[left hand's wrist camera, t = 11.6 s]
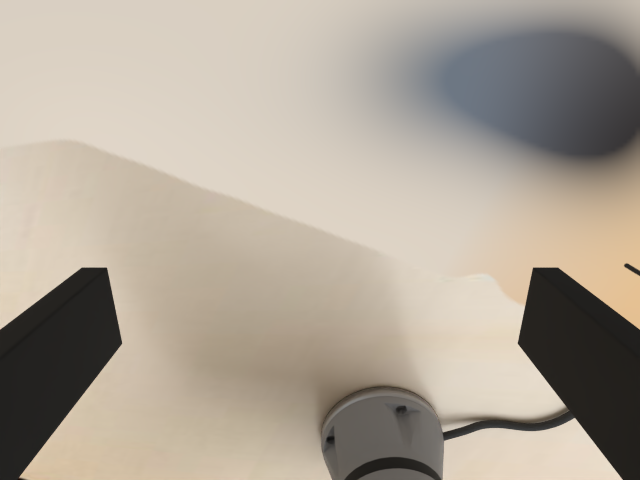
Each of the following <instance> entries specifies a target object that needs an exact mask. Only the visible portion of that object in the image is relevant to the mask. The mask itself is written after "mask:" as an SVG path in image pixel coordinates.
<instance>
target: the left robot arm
mask: <svg viewBox="0 0 640 480" xmlns="http://www.w3.org/2000/svg"><path fill="white" fill-rule="evenodd" d="M624 267H625V268H627V269H629V270H630V271H632V272H634V273H635V274H637V275H639V276H640V270H638V269H636V268H635V267H633V266H631V265H630V264H628V263H626V264H624ZM121 344H122V340H121V335H120V330H119V325H118V320H117V315H116V310H115V305H114V300H113V295H112V290H111V286H110V281H109V276H108V271H107V268H81V269H80V270H78V271H77V272H76V273H74V274H73V275H72V276H70V277H69V278H68V279H66V280H65V281H64V282H63V283H61V284H60V285H59V286H57V287H56V288H55V289H53V290H52V291H51V292H49V293H48V294H47V295H45V296H44V297H43V298H41V299H40V300H39V301H37V302H36V303H35V304H34V305H32V306H31V307H30V308H28V309H27V310H26V311H24V312H23V313H22V314H20V315H19V316H18V317H16V318H15V319H14V320H12V321H11V322H10V323H8V324H7V325H6V326H5V327H3V328H2V329H1V330H0V480H17V479H18V478H19V477H20V475H21V474H22V473H23V471H24V470H25V469H26V468H27V466H28V465H29V464H30V462H31V461H32V460H33V458H34V457H35V456H36V455H37V453H38V452H39V451H40V449H41V448H42V447H43V445H44V444H45V443H46V442H47V440H48V439H49V438H50V436H51V435H52V434H53V433H54V431H55V430H56V429H57V427H58V426H59V425H60V423H61V422H62V421H63V420H64V418H65V417H66V416H67V414H68V413H69V412H70V410H71V409H72V408H73V407H74V405H75V404H76V403H77V401H78V400H79V399H80V398H81V396H82V395H83V394H84V392H85V391H86V390H87V388H88V387H89V386H90V385H91V383H92V382H93V381H94V379H95V378H96V377H97V375H98V374H99V373H100V372H101V370H102V369H103V368H104V366H105V365H106V364H107V363H108V361H109V360H110V359H111V357H112V356H113V355H114V353H115V352H116V351H117V350H118V348H119V347H120V346H121ZM518 344H519V346H520V347H521V348H522V350H523V351H524V352H525V353H526V355H527V356H528V357H529V359H530V360H531V361H532V363H533V364H534V365H535V366H536V368H537V369H538V370H539V372H540V373H541V374H542V375H543V377H544V378H545V379H546V381H547V382H548V383H549V385H550V386H551V387H552V388H553V390H554V391H555V392H556V394H557V395H558V396H559V398H560V399H561V400H562V401H563V403H564V404H565V405H566V407H567V408H568V409H569V410H570V411H568V412H567V413H565V414H563V415H561V416H559V417H557V418H555V419H552V420H549V421H545V422H540V423H531V424H527V423H516V422H508V421H498V420H488V421H480V422H476V423H473V424H470V425H467V426H464V427H461V428H458V429H454V430H451V431H447V432H442V428H441V425H440V422H439V420H438V417H437V415H436V413H435V411H434V410H433V408H432V407H431V406H430V405H429V404H428V403H427V402H426V401H425V400H424V399H422V398H421V397H419V396H418V395H416V394H414V393H412V392H409V391H406V390H403V389H399V388H392V387H375V388H369V389H365V390H361V391H358V392H356V393H353V394H351V395H349V396H347V397H346V398H344V399H342V400H341V401H340V402H338V403H337V404H336V405H335V406H334V407H333V408H332V409H331V411H330V412H329V413H328V415H327V417H326V418H325V421H324V423H323V427H322V452H323V456H324V460H325V463H326V465H327V468H328V470H329V473H330V475H331V478H332V480H442V479H443V454H444V441H445V440H448V439H452V438H455V437H459V436H462V435H466V434H469V433H472V432H474V431H477V430H480V429H485V428H506V429H514V430H522V431H540V430H546V429H550V428H554V427H557V426H559V425H562V424H564V423H566V422H568V421H570V420H572V419H573V418H576V420H577V421H578V422H579V423H580V425H581V426H582V427H583V429H584V430H585V431H586V433H587V434H588V435H589V436H590V438H591V439H592V440H593V442H594V443H595V444H596V445H597V447H598V448H599V449H600V451H601V452H602V453H603V455H604V456H605V457H606V458H607V460H608V461H609V462H610V464H611V465H612V466H613V468H614V469H615V470H616V471H617V473H618V474H619V475H620V477H621V478H622V479H623V480H640V330H639V329H638V328H637V327H635V326H634V325H633V324H631V323H630V322H629V321H628V320H626V319H625V318H624V317H622V316H621V315H620V314H618V313H617V312H616V311H614V310H613V309H612V308H610V307H609V306H608V305H606V304H605V303H604V302H603V301H601V300H600V299H599V298H597V297H596V296H595V295H593V294H592V293H591V292H589V291H588V290H587V289H585V288H584V287H583V286H581V285H580V284H579V283H577V282H576V281H575V280H574V279H572V278H571V277H570V276H568V275H567V274H566V273H564V272H563V271H562V270H560V269H559V268H533V271H532V276H531V281H530V286H529V290H528V295H527V300H526V305H525V310H524V315H523V320H522V325H521V330H520V335H519V340H518Z"/></svg>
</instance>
